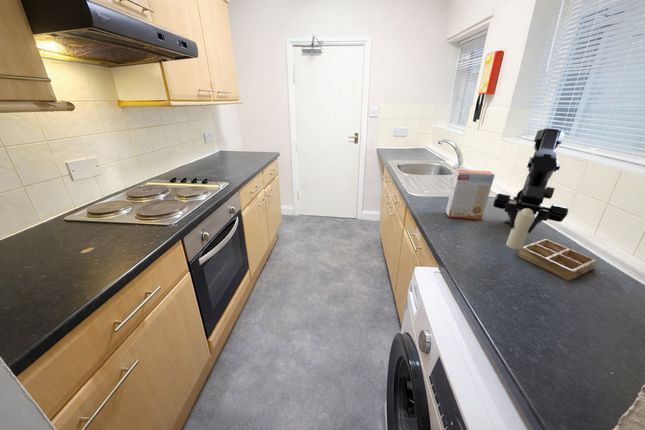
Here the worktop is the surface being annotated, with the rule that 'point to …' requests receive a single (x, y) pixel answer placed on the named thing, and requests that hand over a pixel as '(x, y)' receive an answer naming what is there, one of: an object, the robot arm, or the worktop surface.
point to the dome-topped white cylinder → (520, 229)
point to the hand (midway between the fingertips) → (520, 230)
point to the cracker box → (469, 194)
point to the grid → (557, 258)
